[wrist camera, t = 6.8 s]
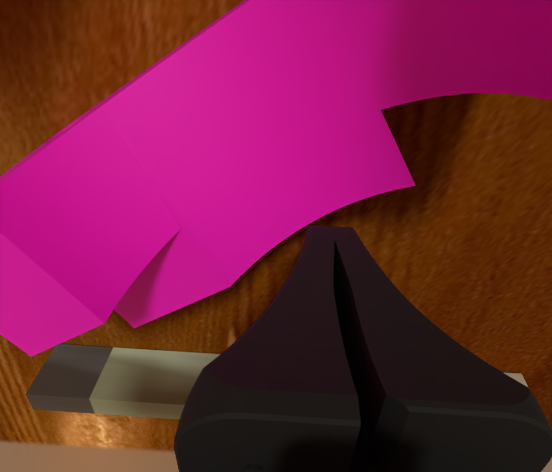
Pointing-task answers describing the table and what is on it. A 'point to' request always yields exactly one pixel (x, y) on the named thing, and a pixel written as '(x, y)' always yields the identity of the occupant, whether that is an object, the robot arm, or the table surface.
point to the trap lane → (121, 381)
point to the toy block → (238, 150)
